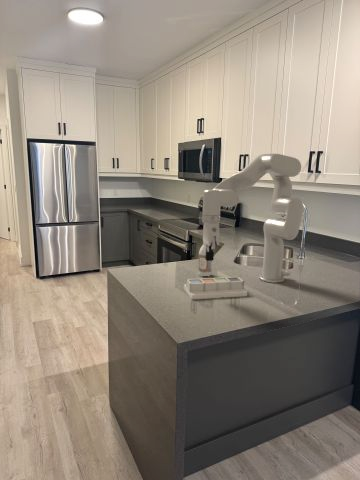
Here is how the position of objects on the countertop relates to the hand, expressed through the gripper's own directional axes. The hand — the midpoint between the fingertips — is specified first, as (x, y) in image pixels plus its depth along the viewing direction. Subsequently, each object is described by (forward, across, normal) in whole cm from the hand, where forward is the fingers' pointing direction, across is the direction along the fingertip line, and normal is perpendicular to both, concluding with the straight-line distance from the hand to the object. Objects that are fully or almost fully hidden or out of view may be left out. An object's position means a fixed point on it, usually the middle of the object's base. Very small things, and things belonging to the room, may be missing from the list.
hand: (209, 260), depth 144 cm
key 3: (+12, 0, 0) cm, 12 cm away
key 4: (+12, 0, +6) cm, 13 cm away
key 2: (+12, 0, -6) cm, 13 cm away
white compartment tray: (+15, 0, -3) cm, 15 cm away
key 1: (+12, 0, -12) cm, 17 cm away
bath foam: (+15, +26, -6) cm, 30 cm away
